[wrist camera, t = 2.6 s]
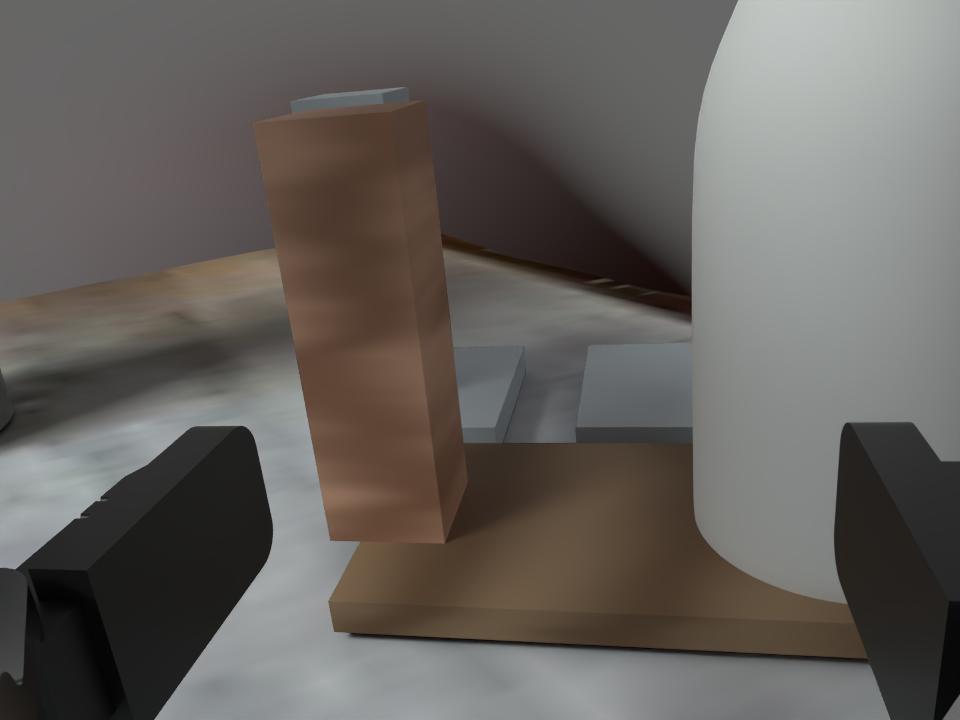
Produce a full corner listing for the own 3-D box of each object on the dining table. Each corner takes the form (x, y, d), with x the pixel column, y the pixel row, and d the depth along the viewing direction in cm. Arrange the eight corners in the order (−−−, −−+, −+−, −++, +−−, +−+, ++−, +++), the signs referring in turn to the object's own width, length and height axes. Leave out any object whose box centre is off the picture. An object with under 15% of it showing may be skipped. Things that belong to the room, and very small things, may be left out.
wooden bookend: (301, 630, 22) (197, 136, 17) (392, 466, 30) (339, 102, 25) (1132, 671, 18) (1291, 48, 13) (977, 470, 26) (1041, 41, 22)
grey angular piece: (323, 457, 32) (259, 107, 27) (384, 374, 40) (343, 90, 35) (806, 459, 28) (830, 57, 24) (769, 367, 36) (782, 51, 31)
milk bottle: (1065, 617, 20) (1257, -430, 13) (752, 658, 19) (775, -386, 12) (891, 469, 27) (953, -250, 20) (662, 497, 27) (644, -220, 20)
